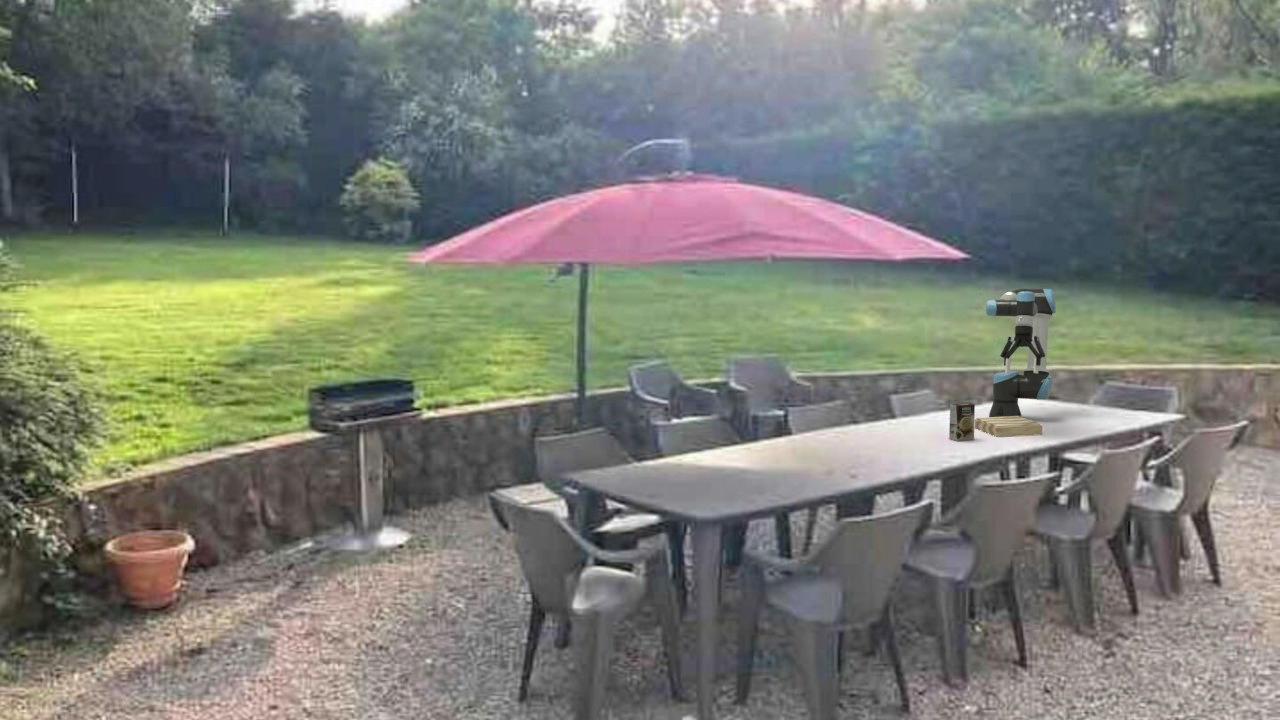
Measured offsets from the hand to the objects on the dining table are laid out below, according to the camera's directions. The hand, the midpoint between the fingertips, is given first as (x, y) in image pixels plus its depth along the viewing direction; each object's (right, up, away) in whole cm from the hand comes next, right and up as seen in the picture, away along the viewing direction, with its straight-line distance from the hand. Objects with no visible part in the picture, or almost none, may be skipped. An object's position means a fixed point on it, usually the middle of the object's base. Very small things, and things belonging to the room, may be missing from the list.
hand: (1021, 373), depth 493 cm
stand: (0, -27, +18) cm, 32 cm away
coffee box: (-26, -30, +2) cm, 40 cm away
